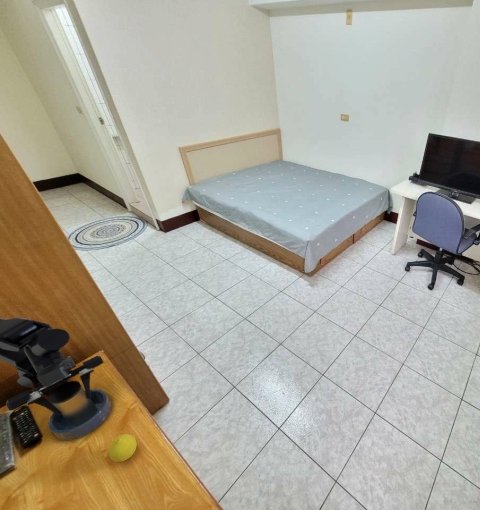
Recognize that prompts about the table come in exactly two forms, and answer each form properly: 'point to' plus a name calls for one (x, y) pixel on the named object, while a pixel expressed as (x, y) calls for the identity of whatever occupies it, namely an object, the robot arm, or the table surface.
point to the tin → (73, 403)
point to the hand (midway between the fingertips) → (75, 406)
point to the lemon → (122, 447)
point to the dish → (72, 432)
